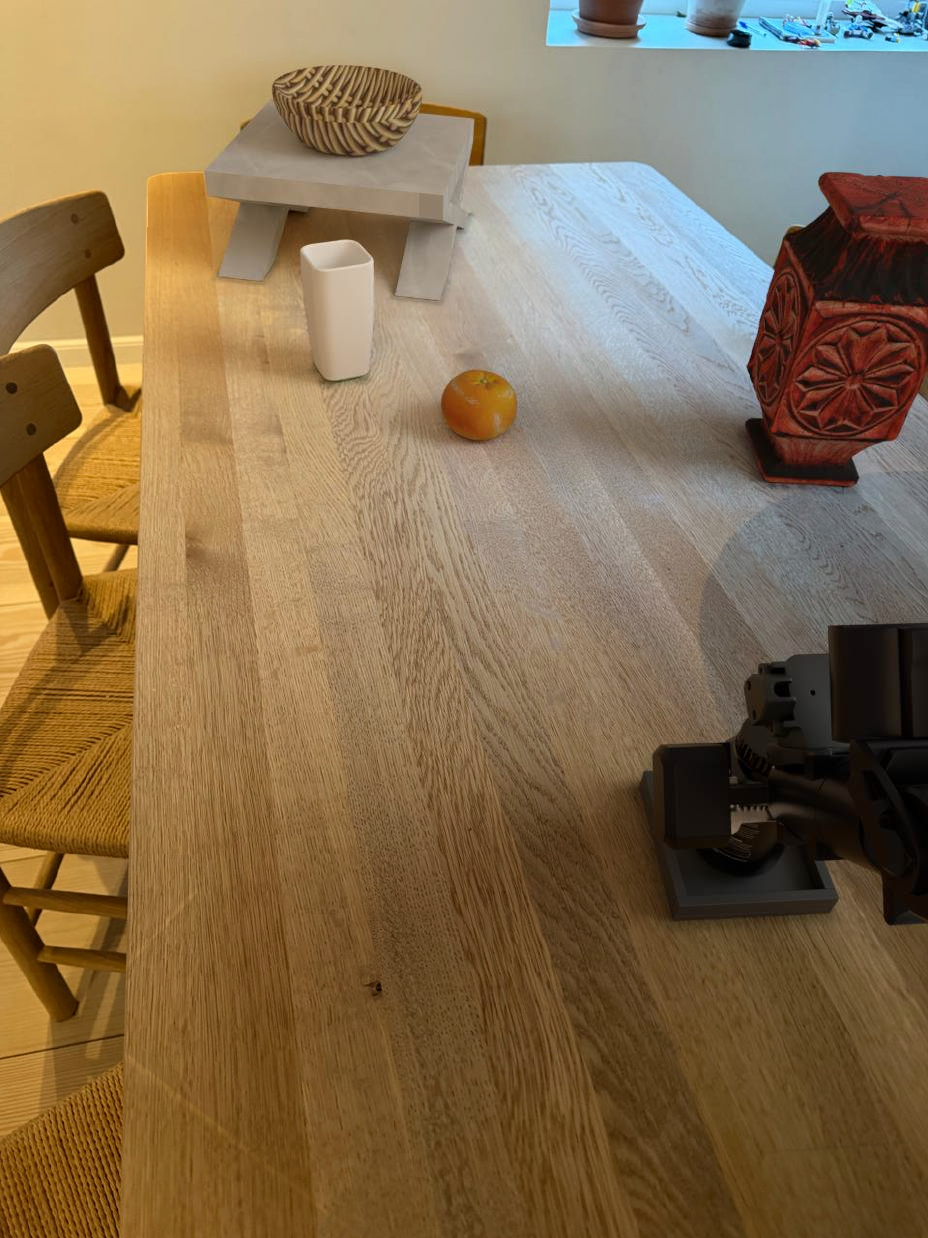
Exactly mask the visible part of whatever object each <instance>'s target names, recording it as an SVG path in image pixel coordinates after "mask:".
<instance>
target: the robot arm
mask: <svg viewBox="0 0 928 1238" xmlns="http://www.w3.org/2000/svg"><path fill="white" fill-rule="evenodd" d="M827 643H828V645H827V647H828V653H827V652H826V653H799V654H793V655H791V656H789V657H788V658H787V659H786V660H779V661H777V660H776V661H775V660H774V661H771V662H759V663H758V665H757V673H752V674H751V675H749V676H748V677H747V679H746V680H745V681H744V684H743V695H744V700H745V705H746V711H747V718H749V721H750V722H751V724H752V725H753V726H765V727H766V728H767V729H768V732H769V735H770V737H772V738H774V737H777V743H766V761H767V764H768V765H770V766H773V767H772V771H771V773H770V775H769V778H768V781H767V783H759V784H738V777H735V776H732V770H731V743H730V742H725V741H723V742H722V741H721V742H720V741H719V742H686V743H683V742H681V743H662V744H661V743H660V744H659V745H658V747H656V749H655V750H654V751H653V752H652V754H651V756H652V771H653V792H654V822H655V836H656V837H658V838H659V839H660V840H661V841H662V842H663V843H664V844H665V845H667V846H668V847H670V848H671V849H673V850H681V849H700V848H720V847H727V845H728V842H729V840H730V838H731V837H734V833H736V832H737V831H738V830H739V828H740V826H741V824H742V823H754V822H774V821H776V826H777V842H778V843H780V844H782V845H803V844H807V849H808V858H811V859H813V860H815V861H825V862H827V861H843V860H844V861H848V862H851V863H853V864H855V865H857V866H859V867H861V868H864V869H865V870H868V871H869V872H873V873H874V874H876V875H879V876H880V878H881V884H882V885H881V886H882V909H883V920H884V922H885V923H886V924H887V925H888V926H890V927H891V926H892V927H895V926H910V925H927V924H928V622H904V623H903V622H901V623H865V624H864V623H863V624H860V623H859V624H832V625H831V624H830V625H827ZM746 804H768V806H767V808H766V806H765V805H762V806H761V809H760V807H759V806H758V805H755V809H754V807H753V806H752V805H749V808H747V806H743V808H742V809H741V807H740V806H739V805H746ZM733 808H736V811H735V810H733Z"/></svg>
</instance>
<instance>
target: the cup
mask: <svg viewBox="0 0 928 1238" xmlns="http://www.w3.org/2000/svg"><path fill="white" fill-rule="evenodd" d="M299 258H300V259H299V260H300V273H301V284H302V295H303V304H304V313H305V320H306V328H307V332H308V338H309V344H310V350H311V353H312V354H311V355H312V359H313V363H314V366H315V367H316V369H317V370H318V372H319V373H320V374H321V376H322V377H323V378H324V379H326V380H327V381H329V382H333V383H336V382H343V381H349V380H352V379H357V378H358V379H359V378H361V377H363V376H365V375H366V374H368V373H369V371H370V365H371V364H370V363H371V357H372V346H373V335H374V316H375V268H374V267H375V264H374V263H375V262H374V258H373V256H372V255H371V254H370V253H369V252H368V251H367V249H365V248H364V246H362V245H361V243H360V242H358V241H356V240H353V239H339V240H331V241H324V242H317V243H310V244H306V245H304V246H302V247H301V248H300V250H299Z"/></svg>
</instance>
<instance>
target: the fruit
mask: <svg viewBox="0 0 928 1238" xmlns="http://www.w3.org/2000/svg"><path fill="white" fill-rule="evenodd" d="M440 410H441V414H442V417H443V419H444V421H445V423H446V425H447V426H448V427H449V428H450V429H451V430H452V431H453V432H454V433H456V434H458V435H459V436H461V437H463V438H466V439H468V440H471V441H489V440H492V439H495V438H497V437H499V436H501V435H503V434H505V433H506V432H507V431H508V430H509V429H510V428H511V426H512V425H513V423H514V422H515V420H516V417H517V413H518V397H517V394H516V391H515V390H514V388H513V386H512V385H511V384H510V382H509V381H508V380H507V379H505V378H504V377H503V376H501V375H499V374H498V373H495V372H494V371H493V372H492V371H488V370H484V369H469V370H466V371H463V372H460V373H458V375H456V376H455V377H452V379H450V381H449V382H448V383H446V386H445V388H444V389H443V392H442V395H441V399H440Z"/></svg>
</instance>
